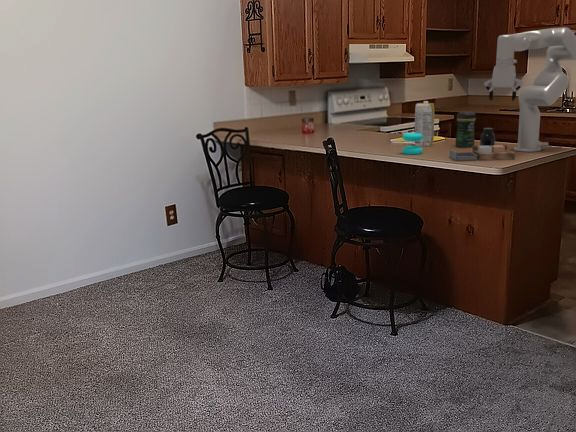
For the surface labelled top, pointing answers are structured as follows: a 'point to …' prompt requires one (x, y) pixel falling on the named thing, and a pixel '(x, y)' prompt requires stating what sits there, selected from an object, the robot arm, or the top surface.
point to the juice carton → (424, 123)
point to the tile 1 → (484, 149)
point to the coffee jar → (465, 129)
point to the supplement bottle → (487, 137)
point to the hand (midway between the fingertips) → (502, 100)
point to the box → (463, 156)
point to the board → (494, 154)
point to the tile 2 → (498, 148)
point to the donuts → (412, 137)
